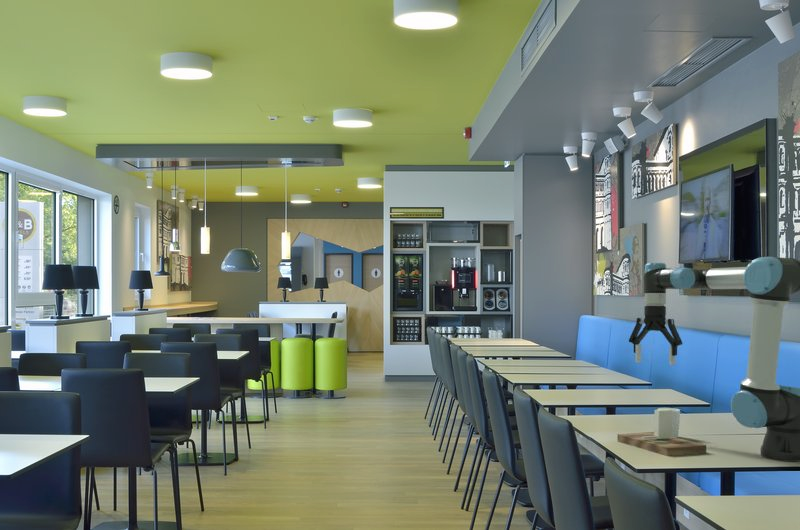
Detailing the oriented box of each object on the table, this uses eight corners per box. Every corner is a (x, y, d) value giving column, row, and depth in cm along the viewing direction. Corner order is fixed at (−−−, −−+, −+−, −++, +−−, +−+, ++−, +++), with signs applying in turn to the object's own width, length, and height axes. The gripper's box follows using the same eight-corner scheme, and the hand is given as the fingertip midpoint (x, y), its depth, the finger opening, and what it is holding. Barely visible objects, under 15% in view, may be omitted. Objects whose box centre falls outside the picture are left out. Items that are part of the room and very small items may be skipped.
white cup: (681, 439, 299) (681, 411, 300) (658, 438, 301) (658, 410, 301) (678, 435, 307) (678, 408, 307) (656, 434, 309) (656, 407, 309)
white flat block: (671, 438, 285) (671, 410, 285) (645, 439, 280) (645, 411, 281) (667, 436, 287) (667, 409, 287) (640, 438, 282) (641, 410, 283)
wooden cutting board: (706, 452, 275) (706, 444, 275) (667, 455, 269) (667, 447, 269) (654, 438, 299) (654, 431, 299) (617, 441, 293) (617, 433, 293)
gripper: (692, 305, 298) (692, 365, 297) (630, 304, 316) (630, 360, 316) (681, 305, 293) (681, 366, 292) (619, 304, 311) (619, 361, 310)
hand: (654, 363), depth 304 cm, fingers open, 13 cm apart
